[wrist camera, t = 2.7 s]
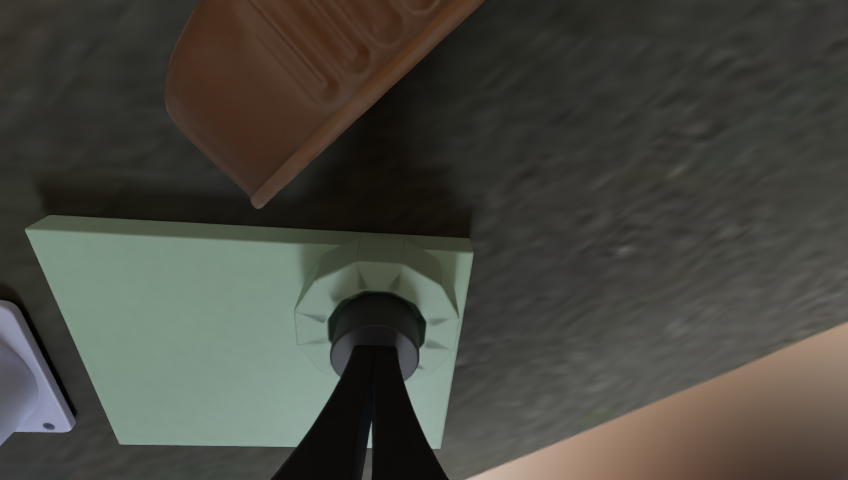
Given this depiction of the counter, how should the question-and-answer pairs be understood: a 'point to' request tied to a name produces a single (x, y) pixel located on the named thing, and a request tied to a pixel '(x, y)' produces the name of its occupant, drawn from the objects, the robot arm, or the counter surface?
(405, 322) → the button
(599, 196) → the counter surface
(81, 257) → the pale green flat piece
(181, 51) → the tin
